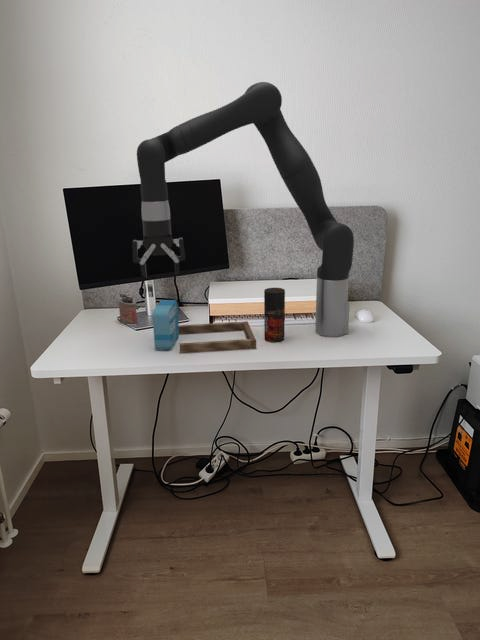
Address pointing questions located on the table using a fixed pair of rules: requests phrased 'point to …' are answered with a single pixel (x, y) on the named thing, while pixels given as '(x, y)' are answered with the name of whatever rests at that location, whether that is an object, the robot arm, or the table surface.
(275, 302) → the deodorant
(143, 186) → the robot arm
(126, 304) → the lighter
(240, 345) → the walnut u-shaped frame
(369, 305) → the table surface
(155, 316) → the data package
